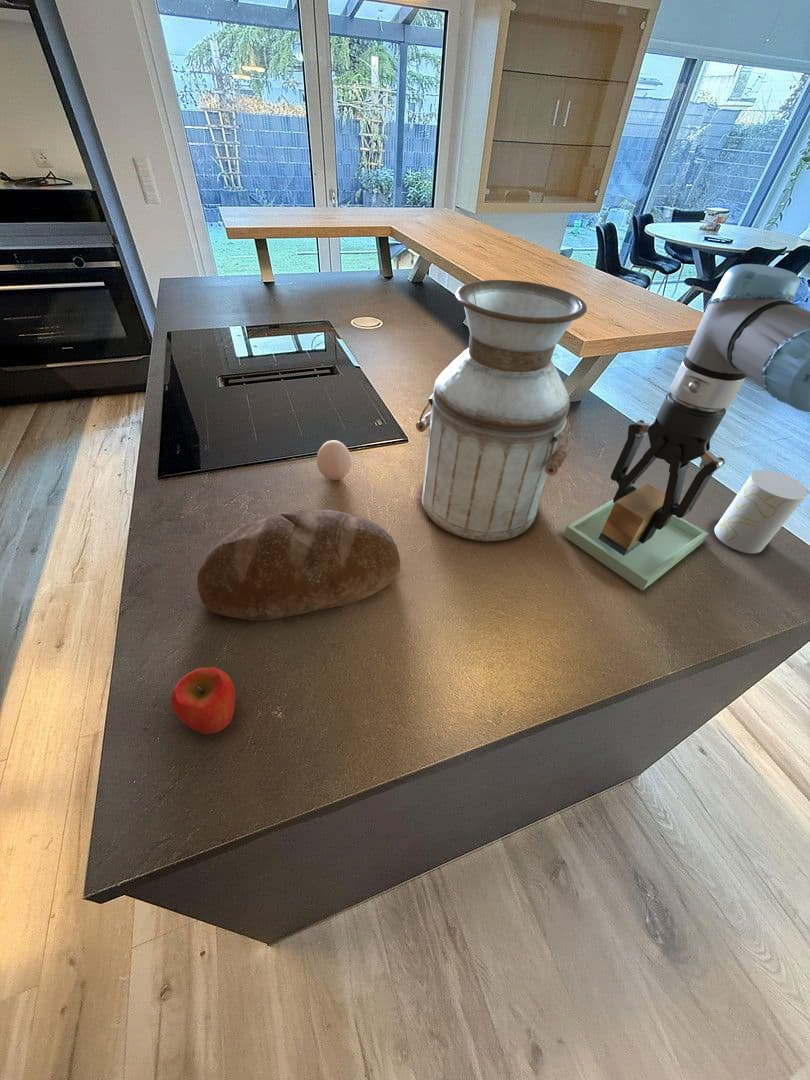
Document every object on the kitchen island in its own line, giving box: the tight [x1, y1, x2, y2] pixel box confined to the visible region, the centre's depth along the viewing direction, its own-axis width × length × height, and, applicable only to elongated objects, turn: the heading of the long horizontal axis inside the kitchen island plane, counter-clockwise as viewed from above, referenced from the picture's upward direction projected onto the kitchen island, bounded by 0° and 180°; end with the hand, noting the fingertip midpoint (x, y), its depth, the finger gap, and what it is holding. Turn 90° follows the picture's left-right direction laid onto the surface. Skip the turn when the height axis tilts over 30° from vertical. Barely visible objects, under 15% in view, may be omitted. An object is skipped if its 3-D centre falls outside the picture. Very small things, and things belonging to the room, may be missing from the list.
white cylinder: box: [714, 469, 808, 554], centre depth 80 cm, size 8×8×12 cm
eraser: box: [598, 482, 666, 556], centre depth 76 cm, size 5×9×8 cm, turn 127°
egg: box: [316, 439, 353, 481], centre depth 88 cm, size 7×7×8 cm
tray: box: [563, 498, 709, 592], centre depth 81 cm, size 16×20×2 cm
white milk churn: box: [415, 279, 588, 542], centre depth 75 cm, size 25×22×36 cm
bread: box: [196, 509, 401, 622], centre depth 67 cm, size 16×29×11 cm, turn 107°
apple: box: [170, 666, 236, 735], centre depth 52 cm, size 6×6×8 cm
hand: (630, 529), depth 77 cm, fingers closed on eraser, 5 cm apart
